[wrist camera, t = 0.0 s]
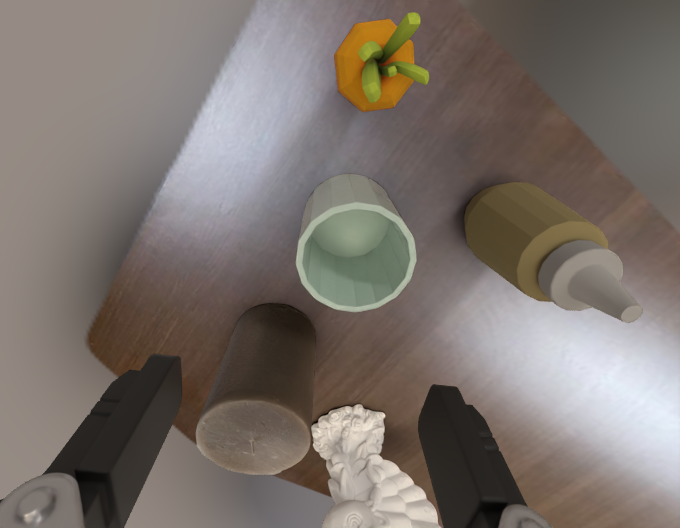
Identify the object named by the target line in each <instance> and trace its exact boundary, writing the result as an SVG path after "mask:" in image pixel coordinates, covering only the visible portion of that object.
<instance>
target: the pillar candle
mask: <svg viewBox="0 0 680 528" xmlns="http://www.w3.org/2000/svg"><path fill="white" fill-rule="evenodd" d="M315 351H316V336H315V330H314V328H313V325H312V324H311V322H310V321H309V320H308V318H307V317H306V316H305V315H304V314H302V313H301V312H300V311H298V310H296V309H294V308H292V307H290V306H287V305H282V304H265V305H260V306H257V307H254V308H252V309H250V310H248V311H247V312H246V313H244V314H243V315H242V316H241V317H240V319H239V320H238V322H237V324H236V326H235V329H234V331H233V334H232V336H231V339H230V341H229V344H228V347H227V349H226V352H225V355H224V357H223V360H222V362H221V365H220V368H219V370H218V373H217V375H216V378H215V380H214V383H213V386H212V388H211V391H210V393H209V396H208V398H207V401H206V404H205V406H204V409H203V411H202V414H201V417H200V419H199V422H198V425H197V429H196V440H197V448H198V449H200V450H201V453H202V454H203V456H205V457H207V458H208V459H210V460H212V461H213V462H215V463H216V464H217V465H218V466H220V467H224V468H226V469H227V470H229V471H235V472H241V473H244V474H255V475H258V474H270V475H274V474H278V473H280V472H281V471H282V470H286V469H287V468H290V467H291V466H293V465H295V464H296V463H298V462H299V461H300V460H301V459H302V458H303V457H304V456H305V455H306V453H307V452H308V450H309V447H310V442H311V426H312V408H313V390H314V376H315Z"/></svg>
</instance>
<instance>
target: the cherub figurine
mask: <svg viewBox="0 0 680 528" xmlns="http://www.w3.org/2000/svg"><path fill="white" fill-rule="evenodd" d="M384 418H385V414H384V413H383V412H376V411H371V410H368V409H364V408H363V407H362V405H360V404H358V405H354V406H353V407H350V406H345V407H342V408H339V409H335V410H332V411H330V412H329V414H328V415H325V416H322V417H320V418H319V420H318V423H316V424H313V425H312V427H311V430H312V436H313V437H314V438H313V441H314V443H313V447H314V449H315V450H316V451H317V452H320V456H321V457H322V458H324V459H326V460H327V462H326V467H327V469H328V471H329V473H330V476H331V478H332V479H329V481H328V485H329V489H330V492H331V495H332V498H333V500H334V502H335V505H334V506H333V507H332V508H331V509H330V510H329V512H328V513H327V515H326V516H325V518H324V520H323V523H322V528H441V527H440V526H439V525H438V520H437V512H436V510H435V508H434V506H433V505H432V504H431V503H430V502H429V501H428V500H427V499H426V494H425V493H424V491H423V490H422V489H421V488H420V487H418V486H416V485H414V483H413V480H412V479H411V478H410V477H409V476H408V475H407V474H406V473H404V472H402V471H400V470H399V468H398V466H397V465H396V464H395V463H393V462H391V461H388V460H383V459H382V457H381V456H380V455H378V454H380V452H381V450H382V445H381V444H382V443H383V440H384V436H383V433H384V432H385V430H384V429H385V427H384V421H383V419H384Z"/></svg>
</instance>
